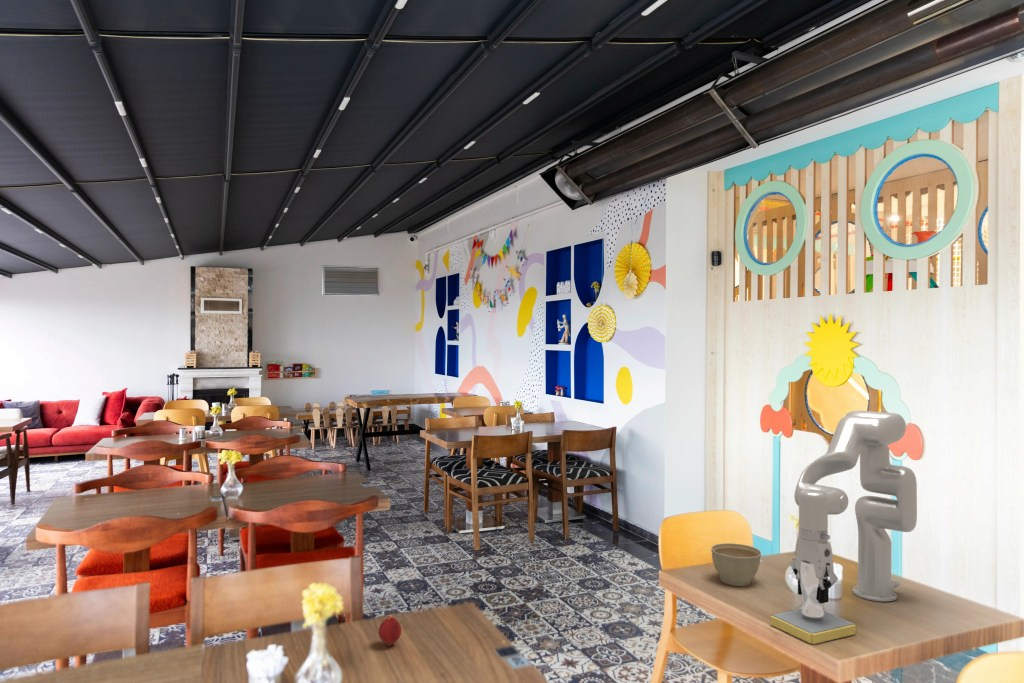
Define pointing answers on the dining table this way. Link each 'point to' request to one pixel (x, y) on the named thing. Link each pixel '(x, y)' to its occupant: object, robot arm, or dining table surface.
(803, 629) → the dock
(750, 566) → the planter bowl
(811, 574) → the beer glass
